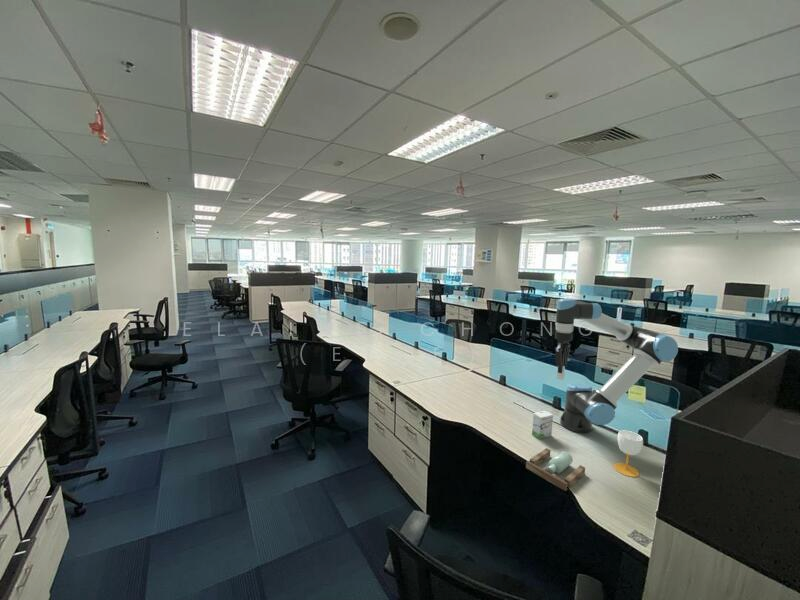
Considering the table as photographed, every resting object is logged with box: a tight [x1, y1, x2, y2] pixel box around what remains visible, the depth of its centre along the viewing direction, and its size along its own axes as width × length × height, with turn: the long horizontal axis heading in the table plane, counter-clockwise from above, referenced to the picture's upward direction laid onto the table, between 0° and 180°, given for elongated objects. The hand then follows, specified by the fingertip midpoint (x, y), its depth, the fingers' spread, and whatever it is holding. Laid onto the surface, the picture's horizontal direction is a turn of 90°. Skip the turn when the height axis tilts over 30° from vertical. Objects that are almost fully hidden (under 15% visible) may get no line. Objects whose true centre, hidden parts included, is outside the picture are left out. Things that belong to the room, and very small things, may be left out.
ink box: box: [531, 410, 554, 440], centre depth 163 cm, size 8×5×12 cm, turn 111°
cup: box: [613, 429, 644, 478], centre depth 137 cm, size 9×9×16 cm
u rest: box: [525, 447, 586, 492], centre depth 137 cm, size 17×17×3 cm
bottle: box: [543, 450, 574, 475], centre depth 137 cm, size 6×6×16 cm
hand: (560, 378), depth 156 cm, fingers closed
